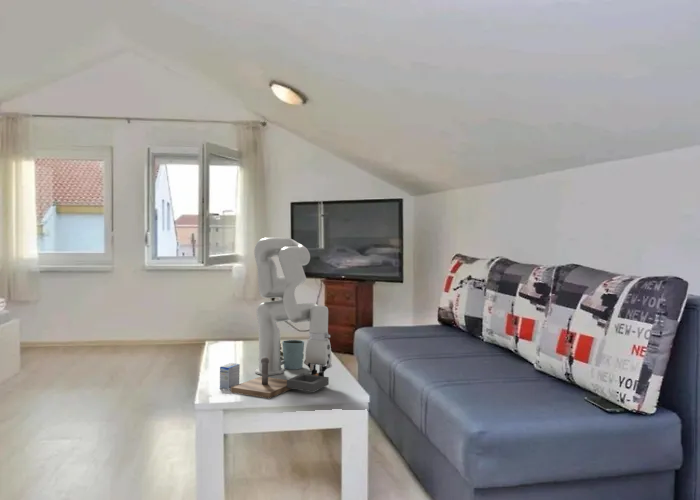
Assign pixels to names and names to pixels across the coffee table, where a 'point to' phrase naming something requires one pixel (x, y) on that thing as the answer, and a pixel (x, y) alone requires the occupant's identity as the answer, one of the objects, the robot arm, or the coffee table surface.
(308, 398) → the coffee table surface
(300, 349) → the teal cup
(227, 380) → the medicine box
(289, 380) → the grey square frame
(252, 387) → the wooden peg stand
